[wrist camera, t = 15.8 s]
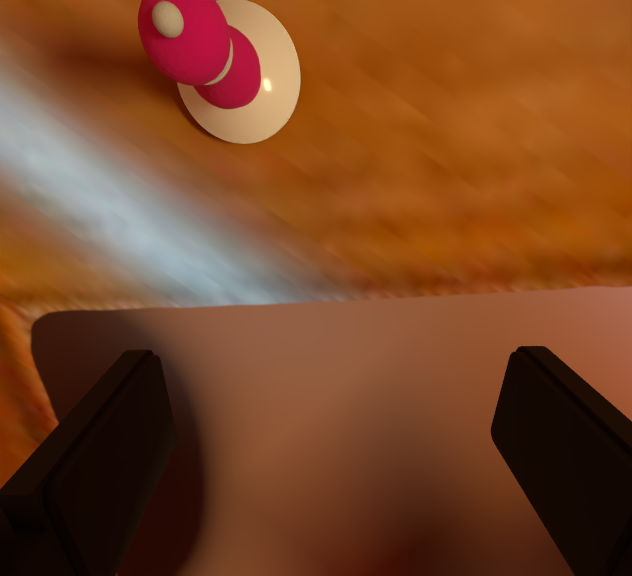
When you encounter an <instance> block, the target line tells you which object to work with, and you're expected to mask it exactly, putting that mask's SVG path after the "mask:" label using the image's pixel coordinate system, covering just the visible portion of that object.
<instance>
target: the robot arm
mask: <svg viewBox="0 0 632 576" xmlns="http://www.w3.org/2000/svg"><path fill="white" fill-rule="evenodd" d="M491 436H492V439H493V442H494V444H495V445H496V447H497V449H498V450H499V452H500V453H501V455H502V457H503V458H504V460H505V462H506V463H507V465H508V467H509V468H510V470H511V472H512V473H513V475H514V476H515V478H516V479H517V481H518V483H519V485H520V486H521V488H522V489H523V491H524V493H525V494H526V496H527V498H528V499H529V501H530V503H531V504H532V506H533V508H534V509H535V511H536V512H537V514H538V516H539V517H540V519H541V521H542V523H543V524H544V526H545V527H546V529H547V531H548V532H549V534H550V536H551V537H552V539H553V541H554V542H555V544H556V545H557V547H558V549H559V550H560V552H561V554H562V555H563V557H564V559H565V560H566V562H567V564H568V565H569V567H570V569H571V570H572V572H573V573H574V575H575V576H632V422H631V420H629V419H628V418H627V417H626V416H625V415H623V414H622V413H621V412H620V411H619V410H617V408H616V407H614V406H613V405H612V404H611V403H610V402H608V400H606V399H605V398H604V397H603V396H602V395H600V394H599V393H598V392H597V391H596V390H595V389H593V388H592V387H591V386H590V385H589V384H588V383H587V382H586V381H584V380H583V379H582V378H581V377H580V376H579V375H578V374H576V373H575V372H574V371H573V370H572V369H571V368H570V367H568V366H567V365H566V364H565V363H564V362H563V361H561V360H560V359H559V358H558V357H557V356H556V355H554V354H553V353H552V352H551V351H550V350H549V349H547V348H546V347H544V346H521V347H518V349H517V350H516V352H513V353H511V355H510V357H509V361H508V365H507V369H506V372H505V376H504V380H503V384H502V388H501V391H500V396H499V399H498V403H497V407H496V411H495V415H494V418H493V422H492V426H491ZM175 441H176V428H175V424H174V419H173V415H172V410H171V406H170V401H169V397H168V392H167V387H166V383H165V378H164V374H163V369H162V365H161V361H160V358H159V356H157V355H154V354H153V352H152V351H151V350H127V351H125V352H124V353H123V354H122V355H121V356H120V357H119V358H118V359H117V361H116V362H115V363H114V364H113V365H112V366H111V367H110V368H109V369H108V371H107V372H106V373H105V374H104V375H103V376H102V377H101V378H100V380H99V381H98V382H97V383H96V384H95V385H94V386H93V387H92V388H91V389H90V391H89V392H88V393H87V394H86V395H85V396H84V397H83V398H82V399H81V401H80V402H79V403H78V404H77V405H76V406H75V407H74V408H73V409H72V410H71V412H70V413H69V414H68V415H67V416H66V417H65V418H64V419H63V420H62V422H61V423H60V424H59V425H58V426H57V427H56V428H55V429H54V430H53V432H52V433H51V434H50V435H49V436H48V437H47V438H46V439H45V440H44V442H43V443H42V444H41V445H40V446H39V447H38V448H37V449H36V450H35V452H34V453H33V454H32V455H31V456H30V457H29V458H28V459H27V460H26V462H25V463H24V464H23V465H22V466H21V467H20V468H19V469H18V470H17V471H16V473H15V474H14V475H13V476H12V477H11V478H10V479H9V480H8V481H7V483H6V484H5V485H4V486H3V487H2V488H1V489H0V576H115V575H116V573H117V571H118V568H119V566H120V564H121V562H122V560H123V558H124V555H125V553H126V551H127V549H128V546H129V544H130V542H131V540H132V538H133V536H134V533H135V531H136V529H137V527H138V525H139V522H140V520H141V518H142V516H143V513H144V511H145V509H146V507H147V505H148V503H149V500H150V498H151V496H152V494H153V492H154V489H155V487H156V485H157V483H158V481H159V478H160V476H161V474H162V472H163V470H164V467H165V465H166V463H167V461H168V459H169V457H170V454H171V452H172V450H173V448H174V445H175Z"/></svg>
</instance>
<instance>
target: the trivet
mask: <svg viewBox="0 0 632 576" xmlns="http://www.w3.org/2000/svg"><path fill="white" fill-rule="evenodd" d="M216 2H217V3H218V5H219V6H220V8H221V10H222V12H223V14H224V16H225V18H226V21H227V24H228V25H230V26H232V27H234V28H236V29H238V30H239V31H240V32H241V33H243V34H244V35H245V36H246V37H247V38H248V39H249V41H250V42H251V43H252V45H253V46H254V48H255V50H256V52H257V55H258V58H259V62H260V69H261V85H260V89H259V92H258V94H257V96H256V97H255V98H254V100H253V101H252V102H250V103H249V104H248V105H246V106H243V107H239V108H236V109H222V108H218V107H216V106H213V105H211V104H210V103H208V102H207V101H206V100H204V99H203V98H202V97H201V96H200V95H199V94H198V93H197V91H196V90H195V89H194V87H193V86H189V85H184V84H181V83H178V82H177V85H178V89H179V92H180V95H181V97H182V99H183V102H184V104H185V106H186V107H187V109H188V111H189V112H190V114H191V115H192V116H193V118H194V119H195V120H196V121H197V122H198V123H199V124H200V125H201V126H202V127H203V128H204V129H205V130H207V131H208V132H209V133H211V134H212V135H214V136H216V137H218V138H220V139H222V140H225V141H228V142H233V143H240V144H249V143H256V142H260V141H263V140H265V139H268V138H270V137H271V136H273V135H275V134H276V133H277V132H278V131H280V130H281V129H282V128H283V127H284V126H285V124H286V123H287V122H288V120H289V119H290V117H291V116H292V114H293V112H294V110H295V107H296V105H297V101H298V97H299V93H300V79H301V76H300V67H299V61H298V56H297V53H296V50H295V47H294V45H293V42H292V40H291V38H290V36H289V35H288V33H287V31H286V30H285V28H284V27H283V26H282V24H281V23H280V22H279V21H278V20H277V19H276V18H275V17H274V16H273V15H272V14H271V13H270V12H268V11H267V10H266V9H264V8H263V7H261V6H259V5H257V4H255V3H252V2H250V1H247V0H217V1H216Z"/></svg>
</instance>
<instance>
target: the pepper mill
mask: <svg viewBox="0 0 632 576" xmlns="http://www.w3.org/2000/svg"><path fill="white" fill-rule="evenodd" d="M138 29H139V33H140V37H141V41H142V43H143V46H144V49H145V51H146V52H147V54H148V56H149V58H150V59H151V60H152V62H153V63H154V65H155V66H156V67H157V68H158V69H159V70H160V71H161V72H162V73H163V74H165V75H166V76H167V77H169V78H170V79H172V80H174V81H176V82H178V83H181V84H184V85H189V86H193V87H194V89H195V90H196V91H197V93H198V94H199V95H200V96H201V97H202V98H203V99H204V100H206V101H207V102H208V103H210V104H211V105H213V106H216V107H218V108H222V109H236V108H239V107H243V106H246V105H248V104H249V103H250V102H252V101H253V100H254V98H255V97H256V96H257V94H258V92H259V89H260V85H261V69H260V62H259V58H258V55H257V52H256V50H255V48H254V46H253V45H252V43H251V42H250V41H249V39H248V38H247V37H246V36H245V35H244V34H243V33H241V32H240V31H239V30H238V29H236V28H234V27H232V26H230V25H228V24H227V21H226V18H225V16H224V14H223V12H222V10H221V8H220V6H219V5H218V3H217V2H216V1H215V0H142V1H141V5H140V8H139V13H138Z"/></svg>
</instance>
